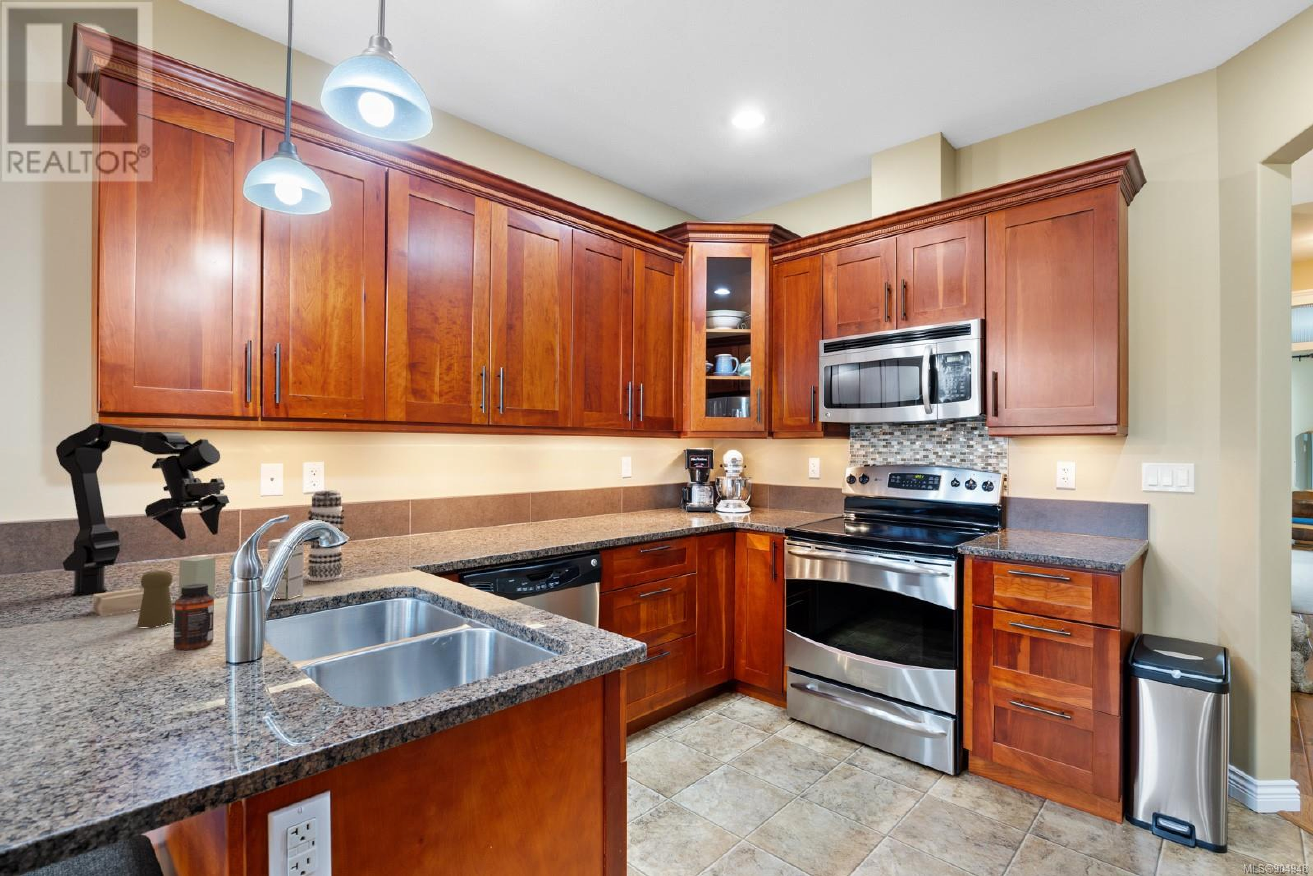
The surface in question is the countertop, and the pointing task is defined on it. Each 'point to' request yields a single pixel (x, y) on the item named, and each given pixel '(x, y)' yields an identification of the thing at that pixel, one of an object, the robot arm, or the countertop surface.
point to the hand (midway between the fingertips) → (200, 536)
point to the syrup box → (289, 572)
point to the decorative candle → (322, 560)
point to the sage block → (197, 573)
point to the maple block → (117, 601)
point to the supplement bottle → (193, 618)
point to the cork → (156, 599)
